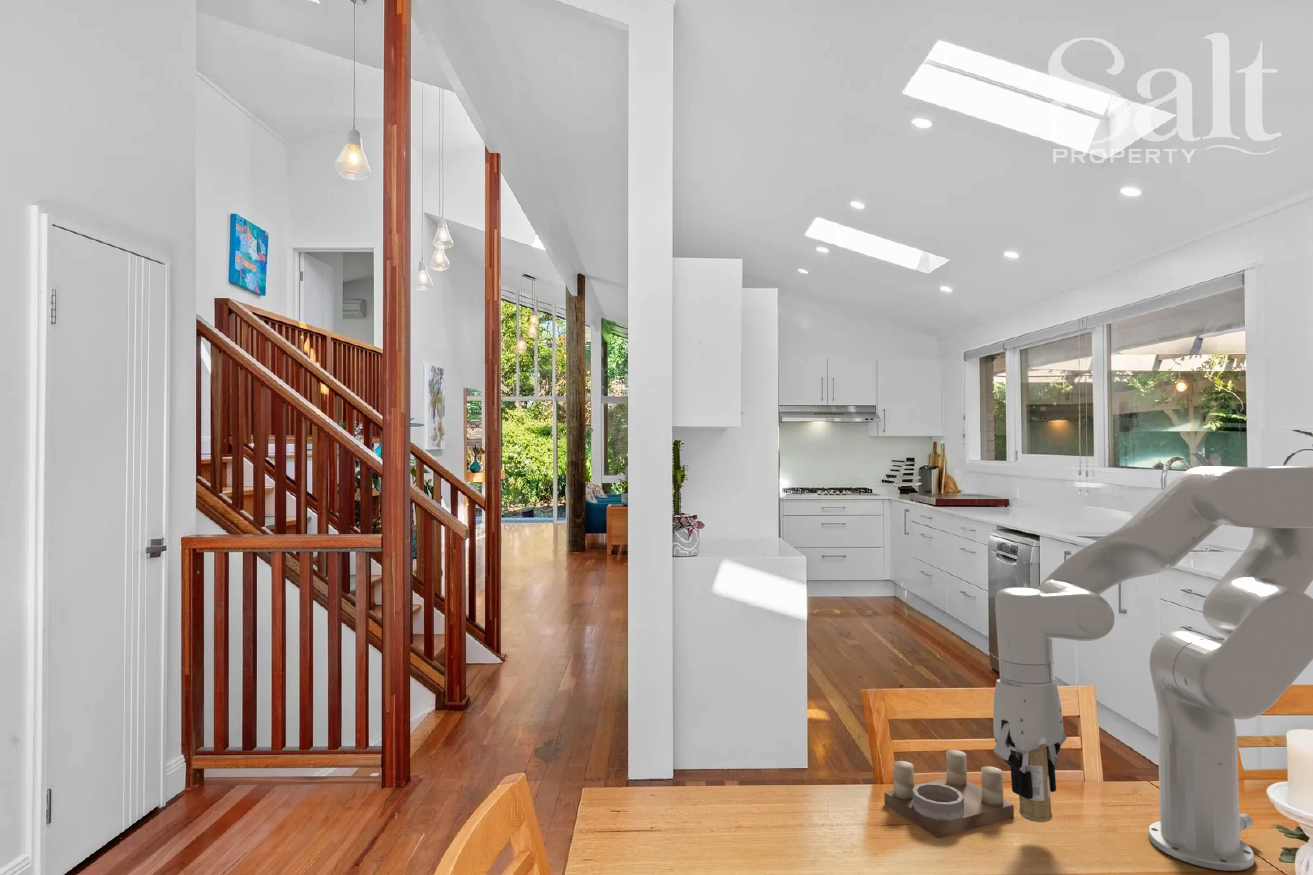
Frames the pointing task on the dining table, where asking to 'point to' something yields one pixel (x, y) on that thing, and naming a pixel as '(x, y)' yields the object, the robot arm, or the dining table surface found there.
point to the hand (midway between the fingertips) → (1034, 790)
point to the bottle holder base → (949, 797)
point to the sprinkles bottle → (1037, 787)
